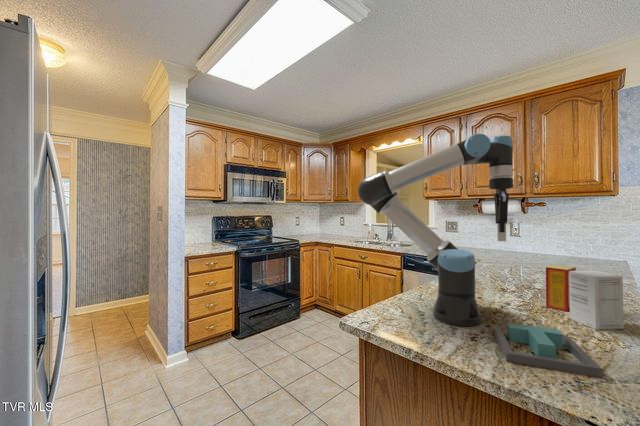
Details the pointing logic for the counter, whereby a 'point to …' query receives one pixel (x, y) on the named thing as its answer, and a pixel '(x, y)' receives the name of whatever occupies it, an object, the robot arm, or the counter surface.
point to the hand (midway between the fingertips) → (501, 240)
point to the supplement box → (596, 299)
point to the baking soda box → (558, 287)
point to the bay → (584, 367)
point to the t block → (536, 338)
